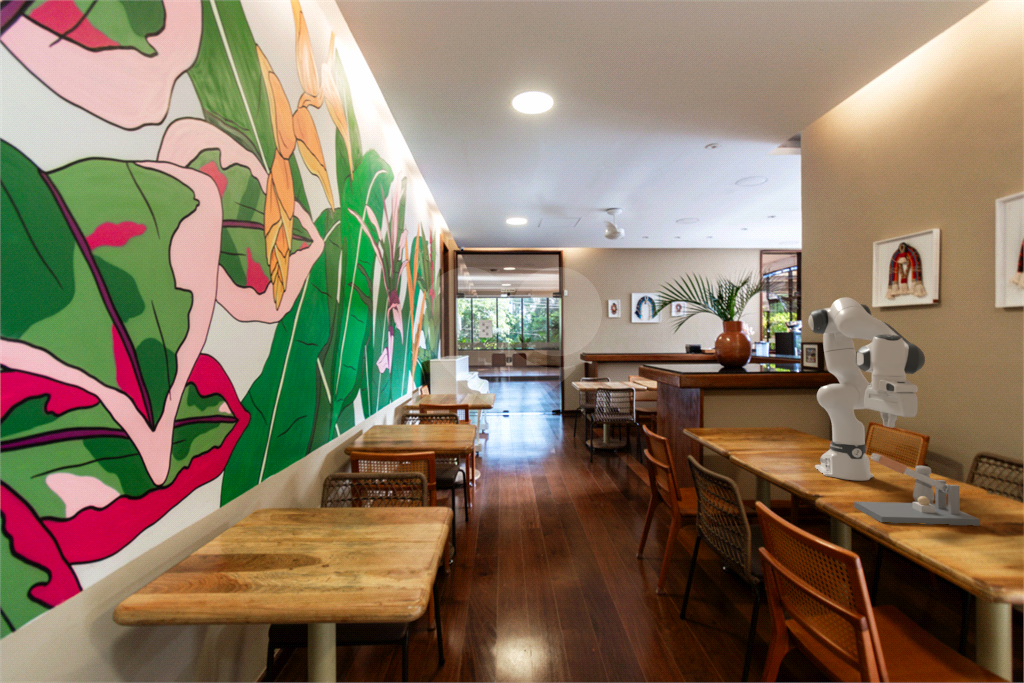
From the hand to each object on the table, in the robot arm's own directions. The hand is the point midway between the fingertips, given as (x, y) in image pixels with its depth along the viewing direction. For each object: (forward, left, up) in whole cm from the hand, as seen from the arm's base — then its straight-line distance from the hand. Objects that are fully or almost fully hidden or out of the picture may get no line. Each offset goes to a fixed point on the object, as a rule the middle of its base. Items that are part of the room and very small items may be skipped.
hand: (888, 426), depth 155 cm
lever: (0, +6, -17) cm, 18 cm away
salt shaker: (-13, +19, -29) cm, 37 cm away
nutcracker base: (0, +7, -29) cm, 30 cm away
